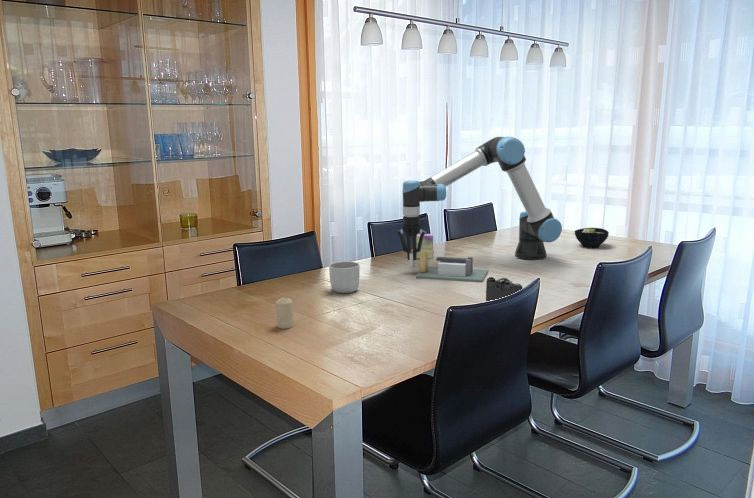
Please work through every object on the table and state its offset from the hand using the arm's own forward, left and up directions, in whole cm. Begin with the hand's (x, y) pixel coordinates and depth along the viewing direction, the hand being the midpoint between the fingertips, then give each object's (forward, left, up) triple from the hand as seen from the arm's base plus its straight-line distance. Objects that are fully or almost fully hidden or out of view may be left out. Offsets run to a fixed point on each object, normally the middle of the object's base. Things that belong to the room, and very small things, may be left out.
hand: (412, 266), depth 266 cm
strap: (-19, 0, +4) cm, 20 cm away
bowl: (-78, -77, -3) cm, 110 cm away
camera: (-47, +37, -3) cm, 59 cm away
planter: (+19, +35, -3) cm, 40 cm away
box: (+3, -32, -3) cm, 32 cm away
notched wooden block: (-7, 0, -2) cm, 7 cm away
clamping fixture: (-19, 0, -3) cm, 19 cm away
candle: (+23, +81, -3) cm, 84 cm away
